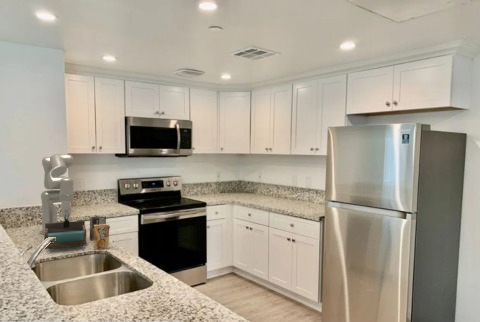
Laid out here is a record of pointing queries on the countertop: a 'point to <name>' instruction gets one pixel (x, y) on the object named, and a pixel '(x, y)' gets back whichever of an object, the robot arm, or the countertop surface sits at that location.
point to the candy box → (101, 236)
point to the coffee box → (95, 221)
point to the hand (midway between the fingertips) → (66, 227)
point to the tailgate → (67, 236)
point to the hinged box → (59, 227)
